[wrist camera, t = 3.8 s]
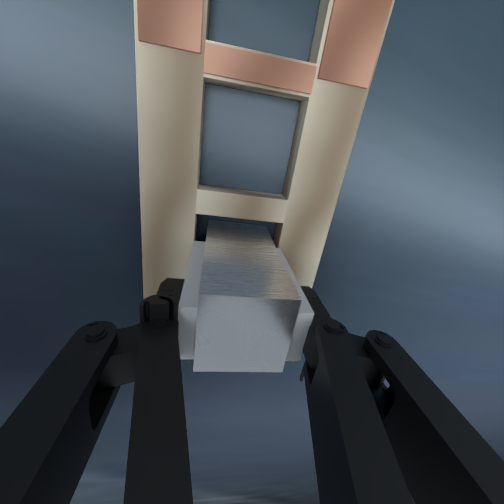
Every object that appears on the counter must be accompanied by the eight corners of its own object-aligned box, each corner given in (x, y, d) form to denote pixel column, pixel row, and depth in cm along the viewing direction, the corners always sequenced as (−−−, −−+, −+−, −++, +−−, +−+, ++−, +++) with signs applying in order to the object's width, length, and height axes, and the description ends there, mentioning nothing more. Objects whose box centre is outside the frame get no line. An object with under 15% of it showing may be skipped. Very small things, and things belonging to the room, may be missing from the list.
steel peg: (204, 270, 19) (193, 371, 11) (208, 219, 17) (198, 294, 9) (256, 273, 20) (282, 372, 12) (265, 225, 18) (301, 300, 10)
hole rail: (149, 288, 19) (142, 302, 18) (139, -171, 10) (124, -228, 9) (300, 297, 21) (306, 310, 20) (402, -82, 12) (430, -115, 11)
